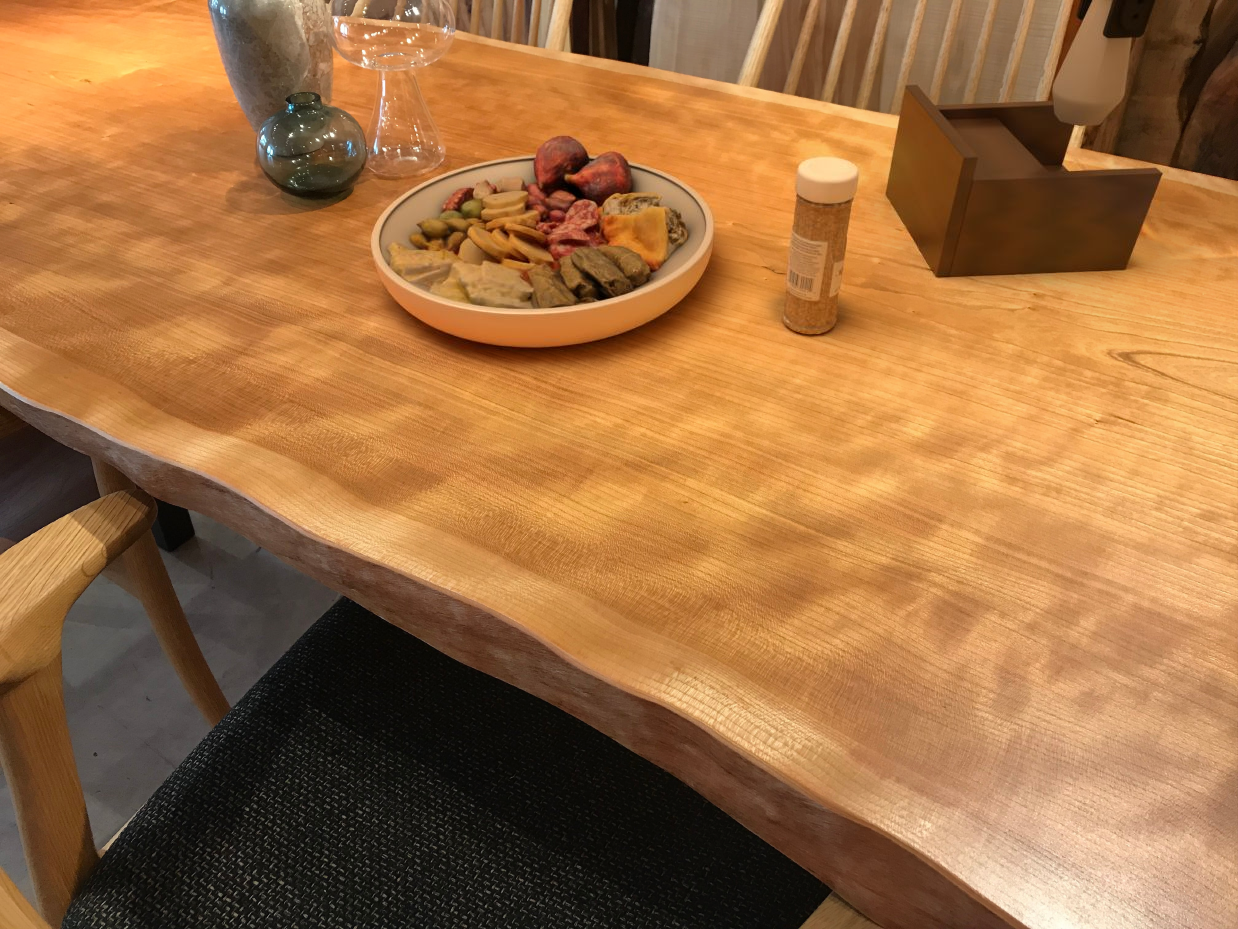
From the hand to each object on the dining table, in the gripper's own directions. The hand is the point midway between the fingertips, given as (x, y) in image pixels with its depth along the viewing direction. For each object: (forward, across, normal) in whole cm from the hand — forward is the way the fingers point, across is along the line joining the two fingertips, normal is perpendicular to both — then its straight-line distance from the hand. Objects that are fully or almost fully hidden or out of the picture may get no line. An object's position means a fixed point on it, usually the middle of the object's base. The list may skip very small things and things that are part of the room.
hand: (1108, 24), depth 76 cm
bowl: (+19, -5, +48) cm, 52 cm away
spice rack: (+18, 0, +4) cm, 19 cm away
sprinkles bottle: (+19, -15, +26) cm, 35 cm away
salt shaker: (+8, 0, 0) cm, 8 cm away
